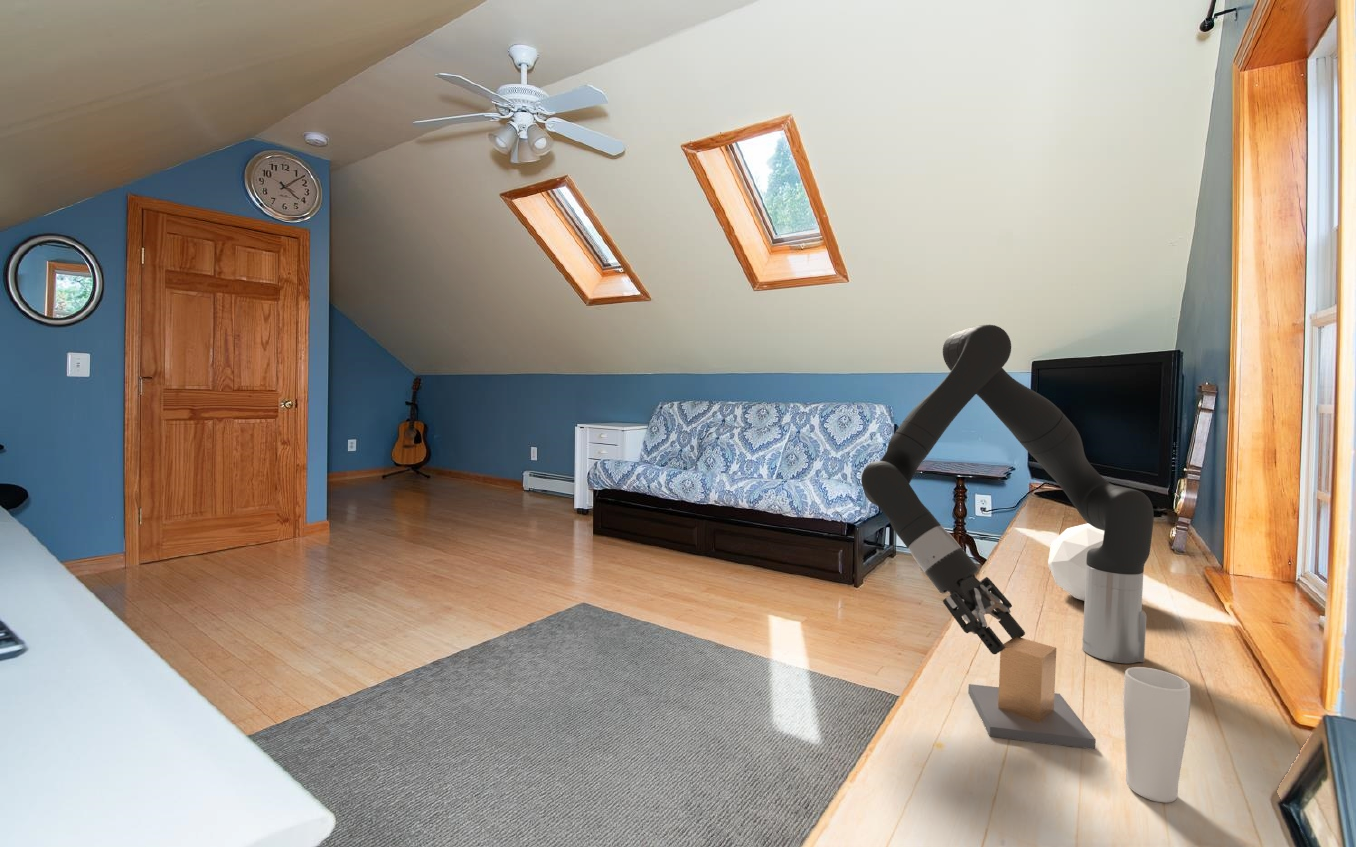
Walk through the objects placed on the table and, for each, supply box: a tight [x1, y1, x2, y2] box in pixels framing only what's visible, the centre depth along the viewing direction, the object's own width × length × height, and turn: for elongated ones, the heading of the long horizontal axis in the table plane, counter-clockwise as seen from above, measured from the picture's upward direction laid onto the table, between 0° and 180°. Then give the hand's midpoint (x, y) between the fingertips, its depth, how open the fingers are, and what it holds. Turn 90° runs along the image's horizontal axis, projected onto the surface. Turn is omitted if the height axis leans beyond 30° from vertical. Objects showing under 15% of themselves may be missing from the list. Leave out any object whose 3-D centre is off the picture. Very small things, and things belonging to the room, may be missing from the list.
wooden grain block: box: [998, 636, 1057, 723], centre depth 98 cm, size 6×6×10 cm
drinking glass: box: [1122, 666, 1191, 804], centre depth 80 cm, size 7×7×15 cm
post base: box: [968, 683, 1097, 750], centre depth 98 cm, size 14×14×8 cm
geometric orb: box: [1047, 522, 1104, 602], centre depth 155 cm, size 19×20×20 cm
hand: (1010, 644), depth 100 cm, fingers open, 8 cm apart
